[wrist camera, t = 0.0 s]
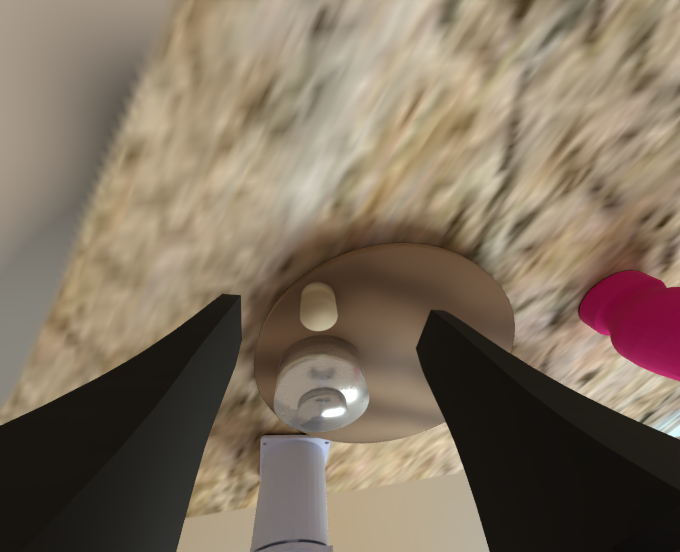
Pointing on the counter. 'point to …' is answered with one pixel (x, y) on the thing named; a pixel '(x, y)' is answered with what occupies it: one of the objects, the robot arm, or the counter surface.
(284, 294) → the turntable top
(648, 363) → the pepper mill
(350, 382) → the aluminium cover
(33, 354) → the counter surface
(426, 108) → the counter surface
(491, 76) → the counter surface
